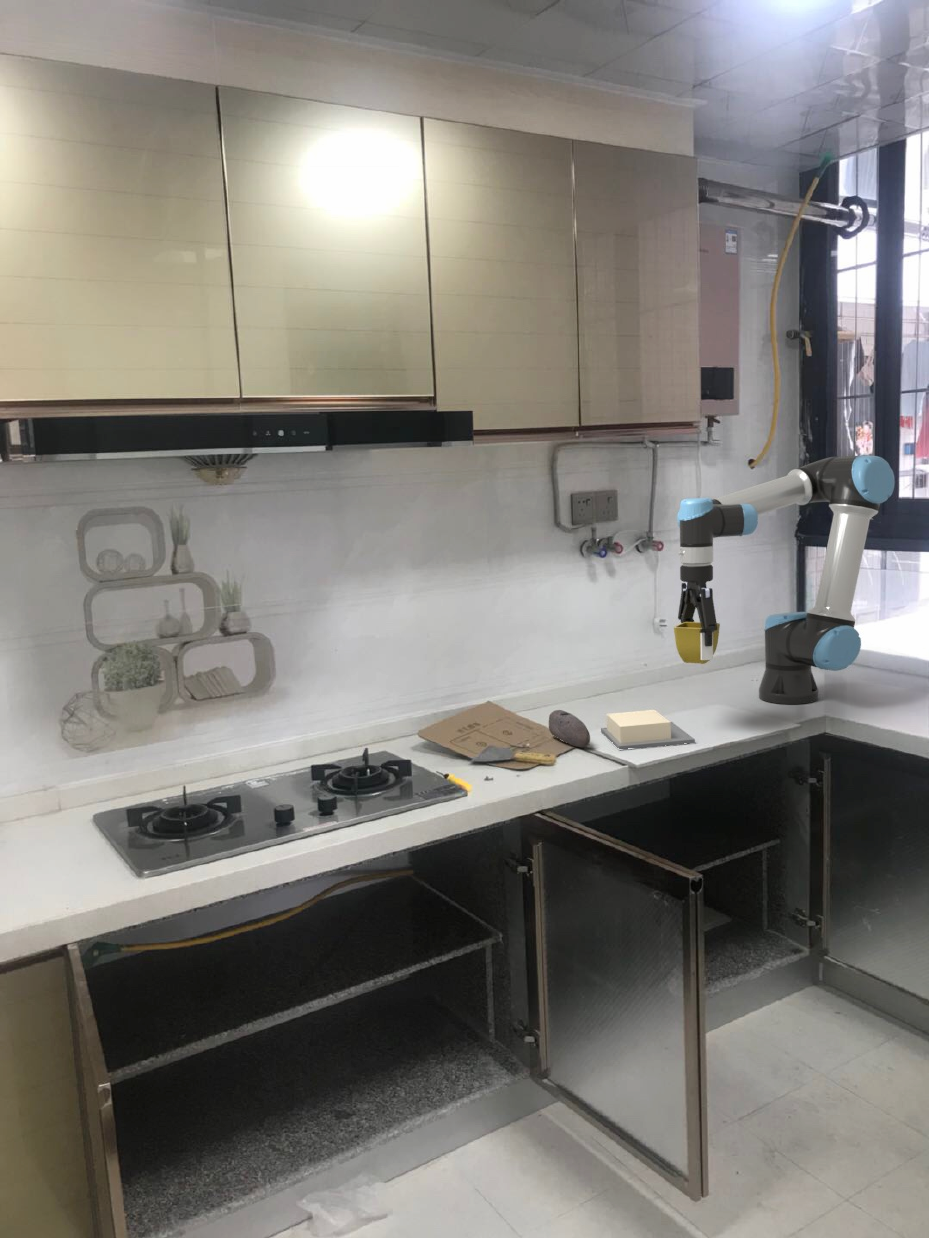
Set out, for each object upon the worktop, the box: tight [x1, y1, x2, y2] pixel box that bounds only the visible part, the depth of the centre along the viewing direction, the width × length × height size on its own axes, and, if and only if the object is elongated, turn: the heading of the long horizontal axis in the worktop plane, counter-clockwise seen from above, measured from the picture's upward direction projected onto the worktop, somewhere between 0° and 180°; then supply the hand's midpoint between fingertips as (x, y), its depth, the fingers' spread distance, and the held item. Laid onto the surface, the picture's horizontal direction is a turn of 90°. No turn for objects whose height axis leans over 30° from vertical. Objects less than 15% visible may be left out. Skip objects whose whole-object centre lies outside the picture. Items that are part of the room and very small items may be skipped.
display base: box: [600, 709, 696, 749], centre depth 227 cm, size 18×16×5 cm
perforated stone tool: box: [548, 709, 591, 748], centre depth 225 cm, size 15×5×7 cm, turn 23°
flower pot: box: [673, 621, 721, 665], centre depth 227 cm, size 9×9×9 cm
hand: (697, 654), depth 227 cm, fingers closed on flower pot, 12 cm apart
